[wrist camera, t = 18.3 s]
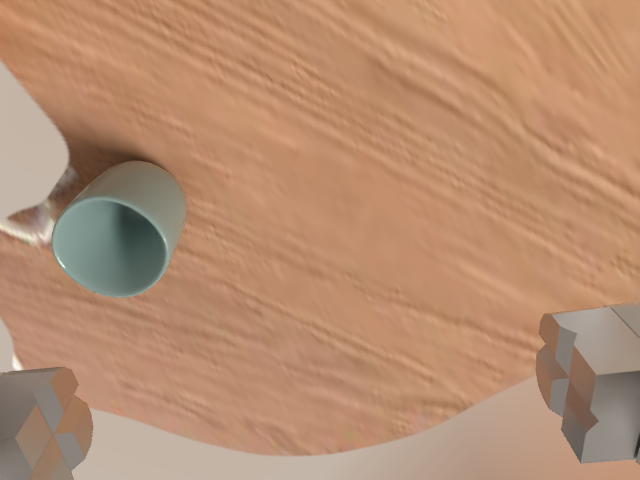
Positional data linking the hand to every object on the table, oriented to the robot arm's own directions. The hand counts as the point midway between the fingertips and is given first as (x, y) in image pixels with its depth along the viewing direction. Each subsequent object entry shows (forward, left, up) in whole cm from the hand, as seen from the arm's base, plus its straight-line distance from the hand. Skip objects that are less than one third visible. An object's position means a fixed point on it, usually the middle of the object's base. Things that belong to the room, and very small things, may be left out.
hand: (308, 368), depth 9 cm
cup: (-14, -9, -34) cm, 38 cm away
